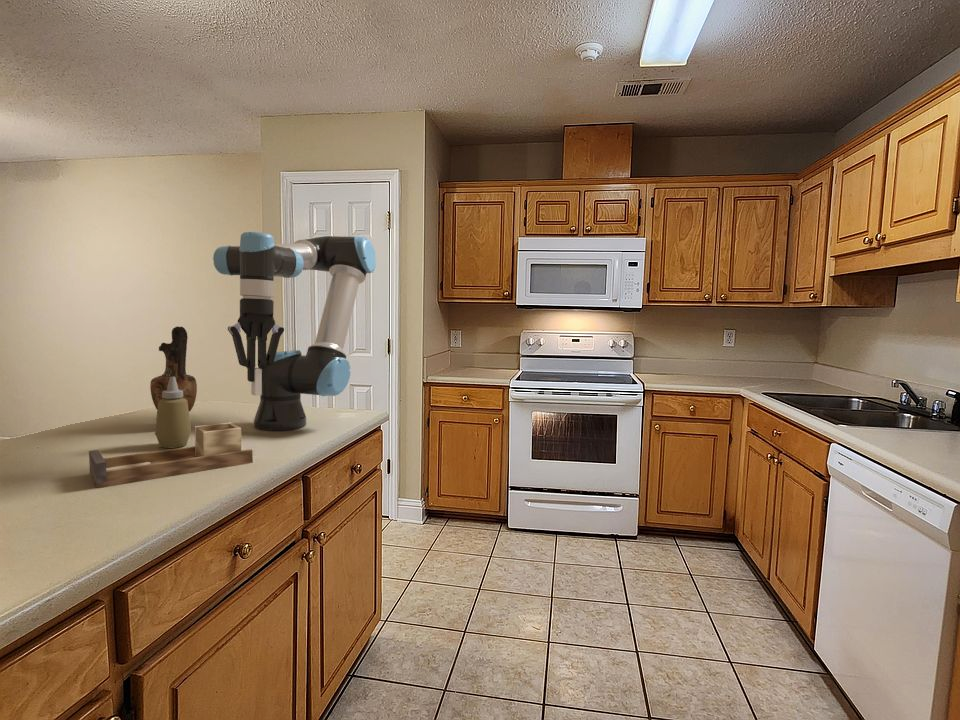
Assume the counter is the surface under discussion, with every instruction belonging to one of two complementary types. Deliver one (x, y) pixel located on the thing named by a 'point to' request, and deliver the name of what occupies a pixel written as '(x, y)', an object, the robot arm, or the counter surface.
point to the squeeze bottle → (172, 418)
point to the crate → (217, 439)
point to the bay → (158, 465)
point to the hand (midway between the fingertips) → (256, 394)
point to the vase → (175, 369)
